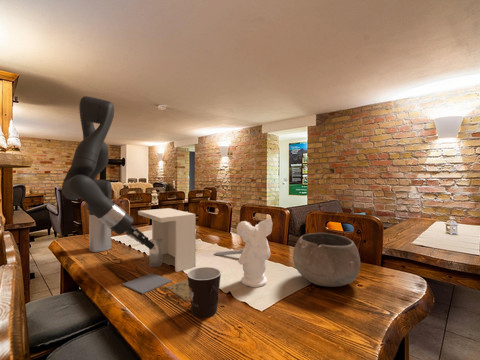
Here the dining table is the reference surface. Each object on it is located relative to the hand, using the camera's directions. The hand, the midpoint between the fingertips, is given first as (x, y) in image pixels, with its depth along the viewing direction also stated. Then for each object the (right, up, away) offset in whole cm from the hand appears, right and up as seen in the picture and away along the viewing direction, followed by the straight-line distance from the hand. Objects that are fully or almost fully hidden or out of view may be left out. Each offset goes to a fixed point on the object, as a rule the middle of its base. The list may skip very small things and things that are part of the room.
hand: (148, 245), depth 96 cm
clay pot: (+64, -9, -14) cm, 66 cm away
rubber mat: (+5, -9, -15) cm, 18 cm away
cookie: (+20, -9, -18) cm, 28 cm away
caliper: (+33, -9, +12) cm, 36 cm away
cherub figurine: (+41, -9, -12) cm, 44 cm away
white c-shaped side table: (+5, -8, +5) cm, 11 cm away
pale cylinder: (+2, -8, +2) cm, 9 cm away
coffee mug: (+26, -9, -33) cm, 43 cm away
